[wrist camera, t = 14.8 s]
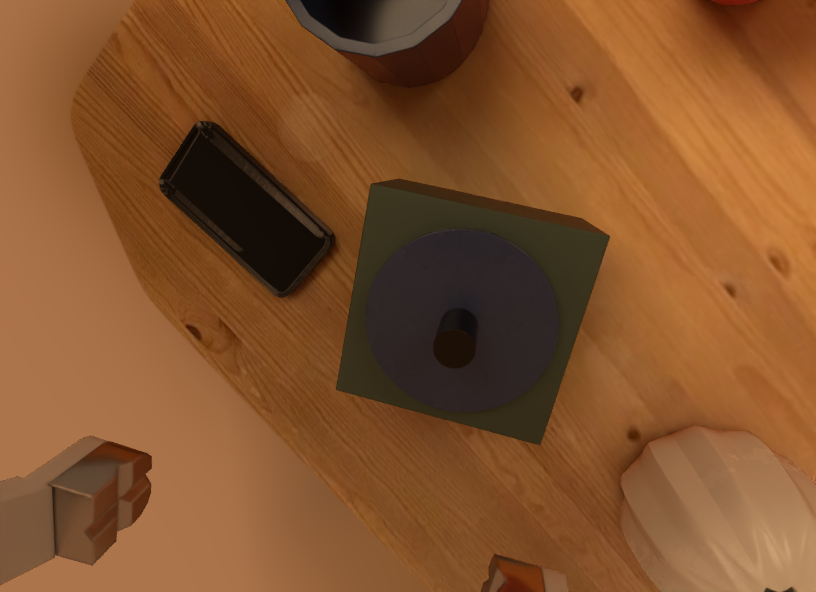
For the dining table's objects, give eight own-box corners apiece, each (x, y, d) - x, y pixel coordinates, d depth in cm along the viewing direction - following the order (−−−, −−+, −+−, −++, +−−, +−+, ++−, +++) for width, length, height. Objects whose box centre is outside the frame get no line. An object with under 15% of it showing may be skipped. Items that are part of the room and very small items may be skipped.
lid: (355, 378, 34) (332, 414, 29) (387, 207, 30) (366, 216, 25) (527, 424, 32) (533, 470, 27) (582, 251, 29) (601, 269, 24)
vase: (729, 563, 43) (830, 734, 30) (582, 506, 44) (619, 648, 31) (817, 442, 38) (978, 581, 26) (651, 381, 39) (728, 487, 27)
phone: (201, 114, 38) (335, 240, 39) (208, 115, 40) (339, 238, 40) (153, 186, 41) (281, 303, 42) (162, 186, 42) (286, 300, 43)
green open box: (367, 343, 43) (335, 390, 34) (398, 178, 38) (370, 183, 30) (530, 385, 41) (540, 445, 33) (582, 218, 37) (610, 235, 28)
